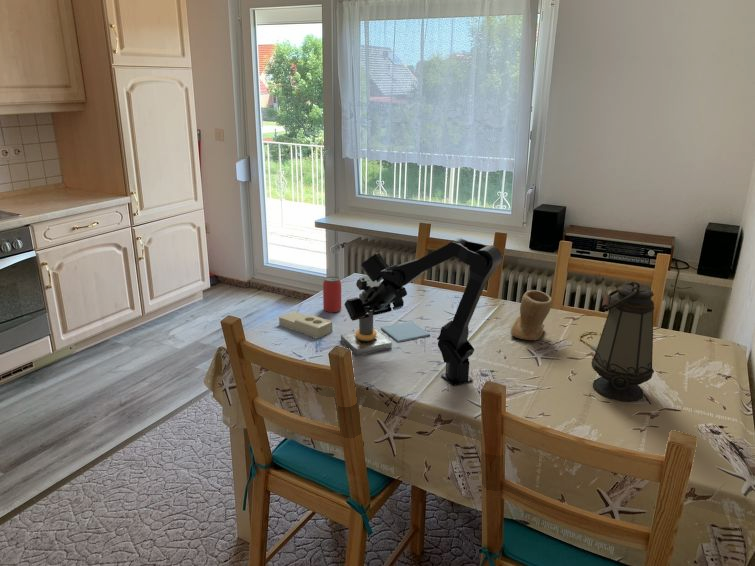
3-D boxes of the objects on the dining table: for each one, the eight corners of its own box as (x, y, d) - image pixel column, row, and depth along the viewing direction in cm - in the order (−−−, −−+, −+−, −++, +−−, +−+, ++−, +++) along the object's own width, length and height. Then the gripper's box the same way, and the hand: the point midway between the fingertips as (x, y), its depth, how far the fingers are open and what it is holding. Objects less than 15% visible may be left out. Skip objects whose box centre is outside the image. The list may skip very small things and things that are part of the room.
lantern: (649, 413, 137) (671, 300, 127) (585, 399, 143) (601, 290, 133) (649, 381, 153) (669, 279, 143) (591, 369, 159) (606, 270, 149)
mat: (430, 335, 180) (430, 333, 179) (398, 342, 174) (398, 340, 174) (411, 322, 190) (411, 321, 189) (380, 328, 184) (380, 327, 184)
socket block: (391, 348, 170) (391, 342, 169) (356, 355, 165) (356, 349, 164) (374, 333, 180) (374, 328, 179) (340, 340, 175) (340, 334, 174)
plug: (379, 344, 171) (380, 293, 166) (361, 348, 168) (361, 296, 163) (370, 337, 176) (371, 287, 171) (352, 340, 174) (352, 290, 168)
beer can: (340, 313, 197) (340, 281, 193) (322, 312, 197) (321, 281, 193) (342, 306, 203) (341, 276, 199) (324, 306, 203) (323, 275, 200)
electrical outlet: (294, 308, 191) (332, 321, 180) (294, 319, 192) (332, 332, 182) (278, 314, 185) (317, 327, 175) (279, 325, 186) (318, 339, 176)
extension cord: (574, 350, 172) (575, 344, 171) (581, 332, 185) (582, 327, 185) (616, 358, 167) (617, 352, 166) (620, 340, 180) (621, 334, 179)
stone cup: (543, 346, 173) (549, 302, 168) (506, 338, 178) (510, 295, 173) (551, 329, 186) (557, 287, 181) (516, 323, 191) (521, 282, 186)
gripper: (399, 263, 166) (377, 288, 178) (347, 274, 156) (328, 299, 168) (414, 295, 163) (391, 318, 175) (363, 308, 152) (342, 331, 164)
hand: (363, 316), depth 171 cm, fingers closed on plug, 4 cm apart
